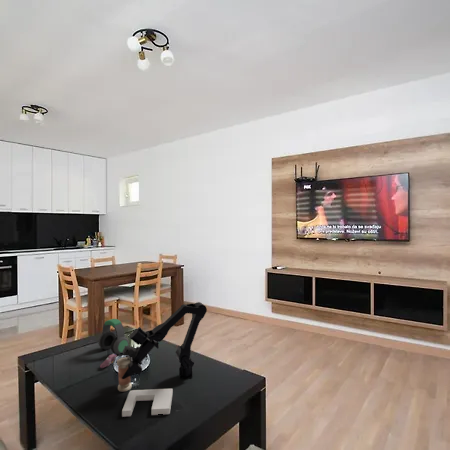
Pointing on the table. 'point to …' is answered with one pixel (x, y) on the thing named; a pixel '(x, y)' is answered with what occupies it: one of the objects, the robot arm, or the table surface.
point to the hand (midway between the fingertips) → (121, 375)
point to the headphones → (113, 337)
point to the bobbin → (122, 368)
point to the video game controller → (108, 360)
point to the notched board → (158, 395)
